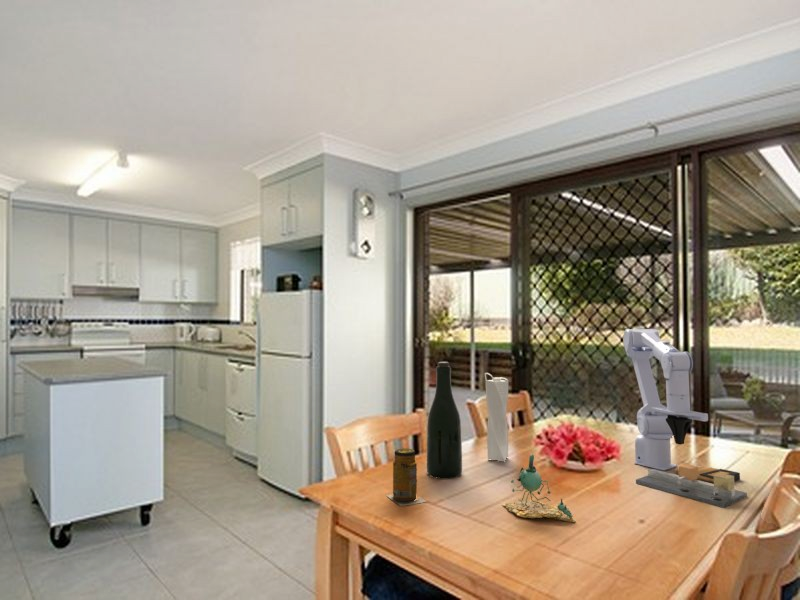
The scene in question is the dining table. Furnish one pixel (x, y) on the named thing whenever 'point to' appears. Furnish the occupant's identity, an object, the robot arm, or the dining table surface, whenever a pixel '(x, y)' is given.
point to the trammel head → (687, 473)
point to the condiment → (405, 478)
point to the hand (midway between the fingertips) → (679, 443)
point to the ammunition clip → (708, 474)
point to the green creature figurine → (532, 508)
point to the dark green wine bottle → (444, 429)
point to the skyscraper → (497, 418)
